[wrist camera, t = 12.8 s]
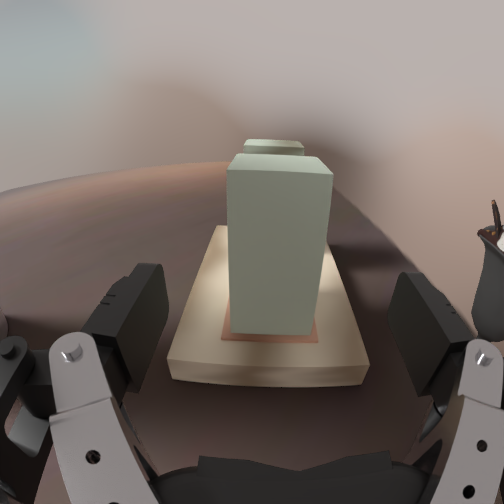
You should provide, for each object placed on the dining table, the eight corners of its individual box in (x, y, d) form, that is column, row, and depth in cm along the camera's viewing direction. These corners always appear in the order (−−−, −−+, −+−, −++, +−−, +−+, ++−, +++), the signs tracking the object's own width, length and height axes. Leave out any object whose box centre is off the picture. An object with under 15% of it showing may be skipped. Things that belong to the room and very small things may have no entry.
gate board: (172, 379, 17) (135, 188, 11) (217, 241, 35) (214, 137, 29) (361, 384, 17) (419, 200, 11) (319, 245, 34) (329, 142, 29)
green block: (230, 332, 18) (226, 169, 13) (237, 287, 22) (237, 153, 18) (310, 335, 18) (333, 174, 13) (303, 290, 22) (316, 157, 18)
